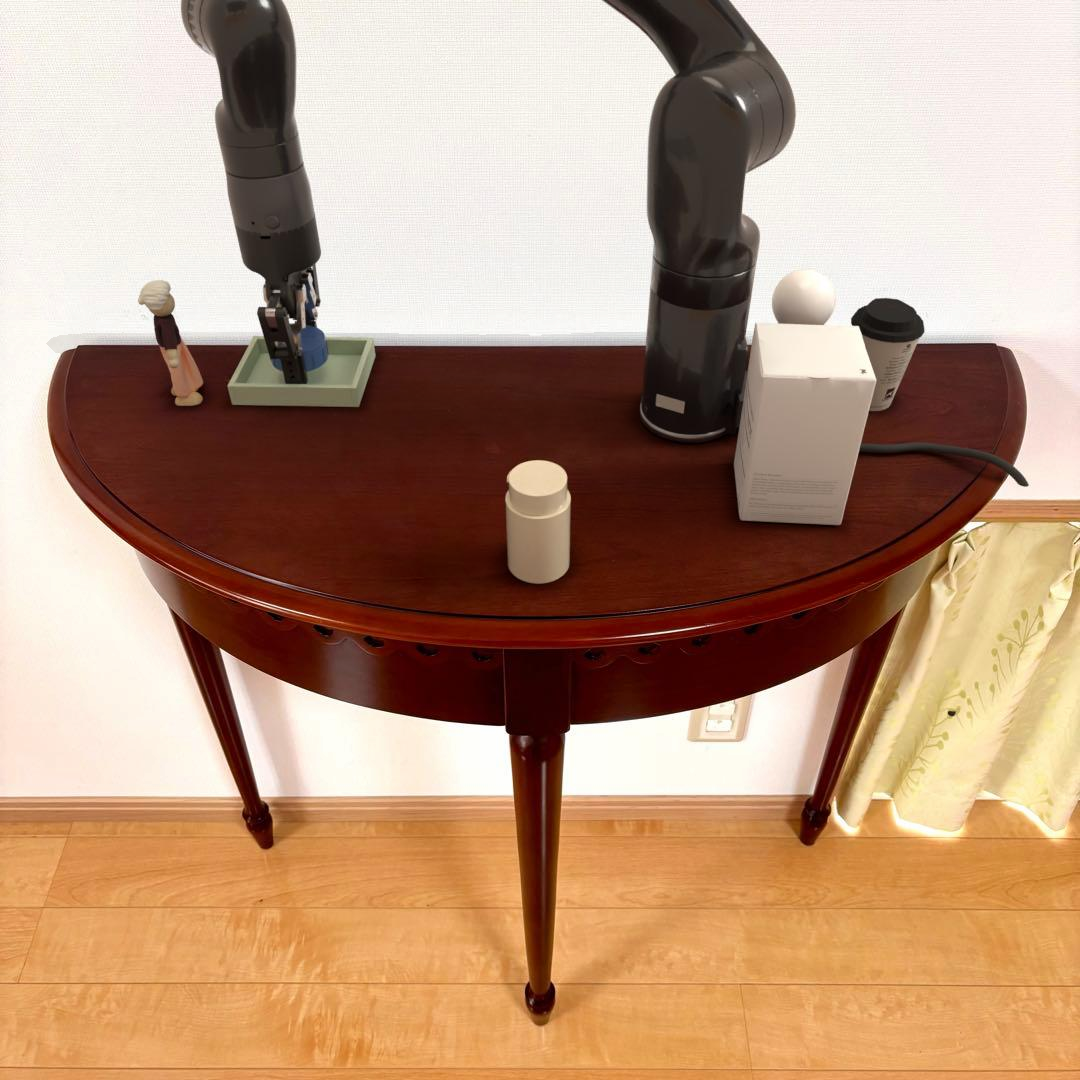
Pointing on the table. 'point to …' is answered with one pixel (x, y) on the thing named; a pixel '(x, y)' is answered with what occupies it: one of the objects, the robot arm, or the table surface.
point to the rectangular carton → (801, 422)
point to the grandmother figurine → (172, 343)
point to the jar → (538, 521)
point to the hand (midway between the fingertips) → (304, 368)
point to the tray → (326, 384)
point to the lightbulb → (803, 298)
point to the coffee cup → (888, 343)
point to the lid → (310, 349)
